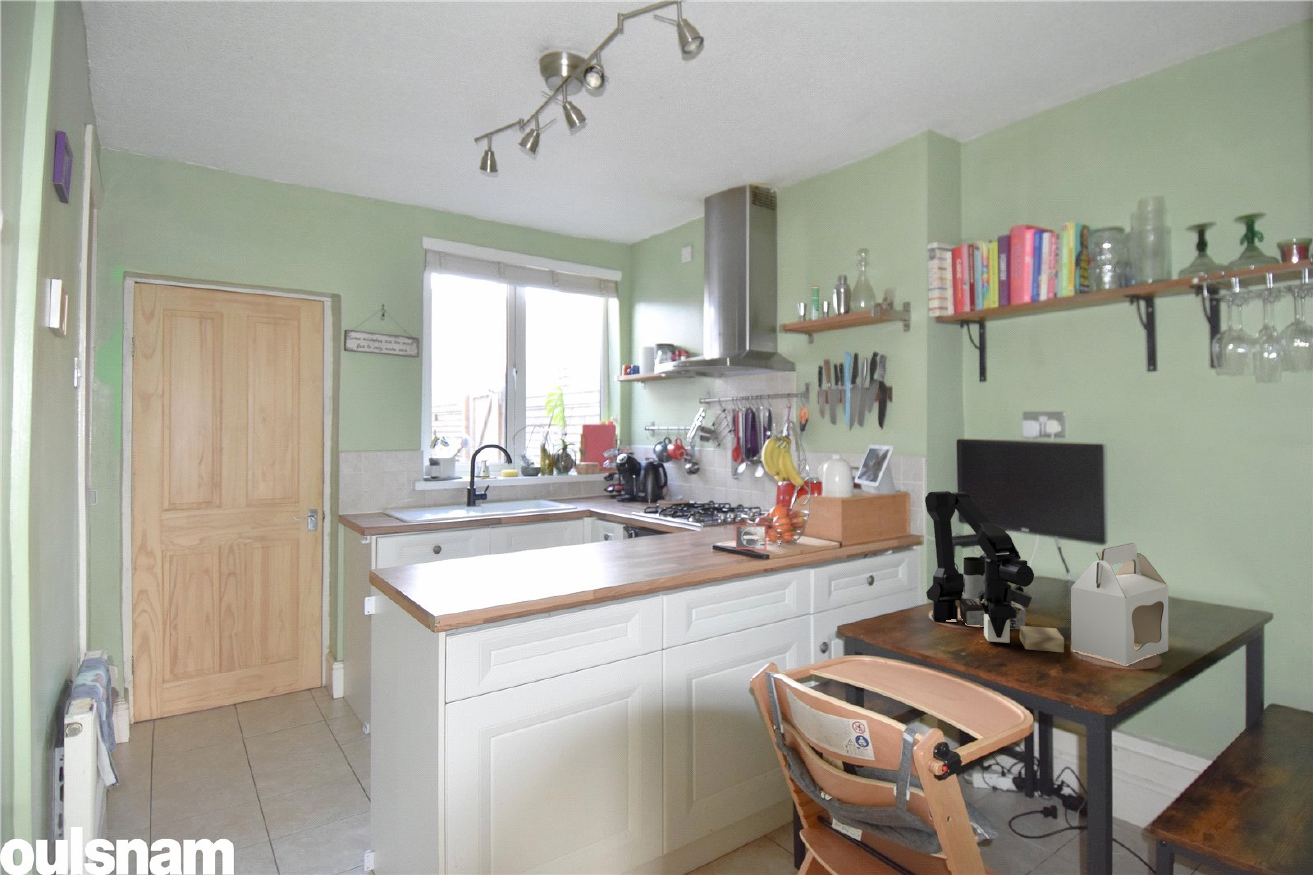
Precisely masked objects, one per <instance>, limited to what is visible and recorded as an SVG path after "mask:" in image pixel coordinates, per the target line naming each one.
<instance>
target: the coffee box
mask: <svg viewBox="0 0 1313 875" xmlns="http://www.w3.org/2000/svg"><path fill="white" fill-rule="evenodd" d="M981 603H984V599H983V601H979V599H964V598H962V597H961V600H959V617H960V616H961V618H962V619H963V621H964V622H965V623H966V624H967V625H980V626H984V614H985V612H984V610H983V608H982V605H981ZM1005 604H1008V603H1005ZM1010 605H1012V606H1013V607H1014V608H1015V610H1016V611H1017V618H1010V619H1009V621H1010V630H1020V626H1026V608H1025V607H1023V605H1020V604H1017V603H1015V602H1012V604H1010ZM961 618H960V619H961ZM963 621H962V622H963ZM964 622H963V623H964Z"/></svg>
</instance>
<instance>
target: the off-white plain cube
mask: <svg viewBox="0 0 1313 875" xmlns="http://www.w3.org/2000/svg"><path fill="white" fill-rule="evenodd" d="M1010 630H1011V629H1010V621H1009V619H1008V620H1007V621H1006V624H1005V627H1004V630H1003V633H1002V637H1001V638H997V637H996V634H995V632H994V629H993V627H992V624H991V621H990V619H989V616H988V614H984V628H983V636H984V638H985V639H986V640H987V642H995V643H1006V644H1007V643H1010V642H1011V641H1010V637H1011V636H1010Z"/></svg>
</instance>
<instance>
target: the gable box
mask: <svg viewBox="0 0 1313 875" xmlns="http://www.w3.org/2000/svg"><path fill="white" fill-rule="evenodd" d="M1137 550H1138V549H1137V544H1136V543H1135V542H1131V543H1126V544H1122V545H1121V544H1120V545H1116V546H1115V545H1114V546H1111V547H1106V548H1103V549H1102V551H1097V552H1095V554H1096V556H1097V558H1098V560H1094V561H1093V562H1092V563H1091V564H1090V565H1089V566H1088V568H1087V569H1086V570H1085V571H1084V572H1083V573H1082V574H1081V576H1079V578H1078V579H1076V581H1075V582H1074V583H1073V585H1072V586H1071V587H1070V589H1071V590H1070V592H1071V593H1070V604H1071V605H1070V606H1071V607H1070V618H1071V619H1070V622H1071V623H1070V627H1071V628H1070V633H1071V634H1070V636H1071V637H1070V639H1071V640H1070V644H1071V645H1070V646H1071V647H1070V648H1071V649H1070V651H1071V652H1072V651H1073V650H1075V651H1080V652H1083V653H1087V654H1091V655H1098V656H1101V657H1103V658H1107V659H1112V660H1114V661H1117V662H1119V663H1121V664H1124V665H1127V664H1130V663H1132V662H1134V661H1136V660H1138V659H1141V658H1143V657H1146V656H1147V655H1154V654H1158V655H1160V654H1163V653H1166V652H1168V651H1169V585H1168V584H1167V583H1166V581H1165V580H1164V579H1163V578H1162V577H1161V576H1162V575H1160V574H1159V572H1158V571H1157V570H1156V569H1155V567H1154V566H1153V565H1152V563H1151V562H1150V561H1149V559H1148V558H1147V557H1146V556H1145V555H1144V554H1142V553H1141V552H1140V553H1138V551H1137ZM1118 564H1121V566H1120V567H1119V569H1118V570H1117V572H1116V574H1115V572H1114V570H1113V568H1112V566H1113V565H1118ZM1134 646H1135V647H1140V648H1139V649H1138V650H1135V649H1134Z"/></svg>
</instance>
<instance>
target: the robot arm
mask: <svg viewBox="0 0 1313 875" xmlns="http://www.w3.org/2000/svg"><path fill="white" fill-rule="evenodd" d="M924 503H925V508H926V512H927V514H928V515H929V516H930V518H931V519H932V521H933V530H934V531H933V532H934V540H935V543H934V544H935V551H936V552H935V553H936V563H937V564H936V566H937V567H936V570H935V571H934V574H933V575H932V585H931V586H930V587H929V588H928V590H927V591H926V597H927V600H930V601H932V614H931V618H932V620H933V621H934V622H937V623H939V622H940V623H942V622H941V621H946V620H951V619H957V620H958V619H959V618H958V616H959V613H958V612H959V608H958V607H959V606H958V605H957V602H956V601H960V600H961V598H962V594H963V591H964V587H965V585H964V576H963V573H962V572H959V570H958V571H957V567H956V565H955V563H956V560H955V551H954V539H953V530H952V528H953V527H952V518H953V517H954V515H955V513H956V511H957V512H958V513H959V515H960V516H961V517H962V518H963V519H964V521H965V522H966V523H967V525H968V526H969V527H970V528H971V529H972V530H973V532H974V534H975V535H976V542H977V544H978V545H979V547H980V549H981V550H982V551H983V553H982V554H981V555H980V556H978V557H979V558H980V559H982V560H985V579H983V583H984V584H985V590H981V591H980V592H979V593H978V599H979V601H983V599H984V603H981V605H982V608H983V610H984V612H985V614H988V616H989V619H990V621H991V624H992V627H993V629H994V632H995V634H996V637H997V638H1001V637H1002V633H1003V630H1004V627H1005V624H1006V621H1007V620H1008V619H1010V618H1017V611H1016V610H1015V608H1014V607H1013V606H1012V605H1010V604H1012V602H1015V603H1017V604H1020V605H1021V606H1022V607H1023V608H1025V609H1029V606H1031V605H1030V604H1031V602H1032V599H1033V596H1032V595H1030V594H1029V593H1028V592H1025V590H1024V588H1026V587H1029V586H1030V585H1031V584H1032V583H1033V581H1034V579H1035V573H1034V570H1033V569H1032V567H1031V566H1029V565H1028V560H1026V559H1021V555H1020V553H1019V551H1018V549H1017V547H1016V546H1015V543H1014V541H1013V539H1012V537H1011V535H1010V534H1009V533H1007V532H1006V531H1005V530H1004V529H1003V528H1001V527H999V526H997V525H995V524H993V523H992V522H991V521H990V520H989V519H988V518H987V517H986V515H984V513H983V512H982V511H981V510H980V508H979V507H978V506H977V505H976V504H975V503H974V502H973V500H972V499H971V497H970V495H969V494H968V493H967V492H965V491H959V492H958V491H957V492H955V491H954V492H953V491H952V492H951V491H949V490H943V491H940V490H939V491H930V492H928V493H927V494H926V496H925V499H924ZM1011 584H1013V585H1015V586H1013V587H1012V585H1011ZM1005 603H1008V604H1005Z"/></svg>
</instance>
